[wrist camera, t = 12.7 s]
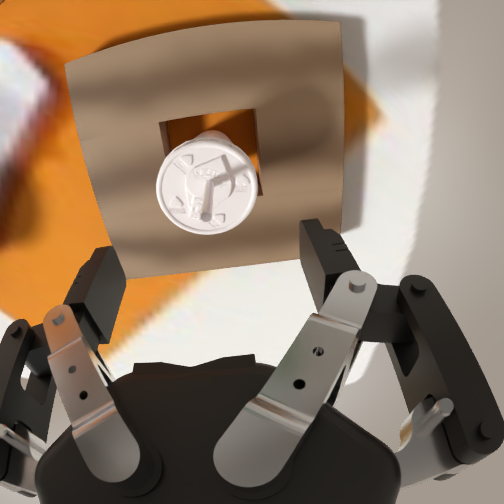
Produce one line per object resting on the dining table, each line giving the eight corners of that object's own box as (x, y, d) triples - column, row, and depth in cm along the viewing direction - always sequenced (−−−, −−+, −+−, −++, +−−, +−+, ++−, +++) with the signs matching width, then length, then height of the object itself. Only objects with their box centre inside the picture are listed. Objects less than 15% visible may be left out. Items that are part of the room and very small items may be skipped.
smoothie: (259, 131, 25) (291, 194, 14) (230, 191, 29) (236, 291, 17) (192, 104, 24) (159, 143, 12) (167, 168, 27) (125, 257, 15)
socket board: (79, 63, 20) (64, 64, 17) (327, 25, 20) (340, 21, 17) (132, 262, 32) (125, 279, 30) (329, 238, 33) (338, 253, 30)
